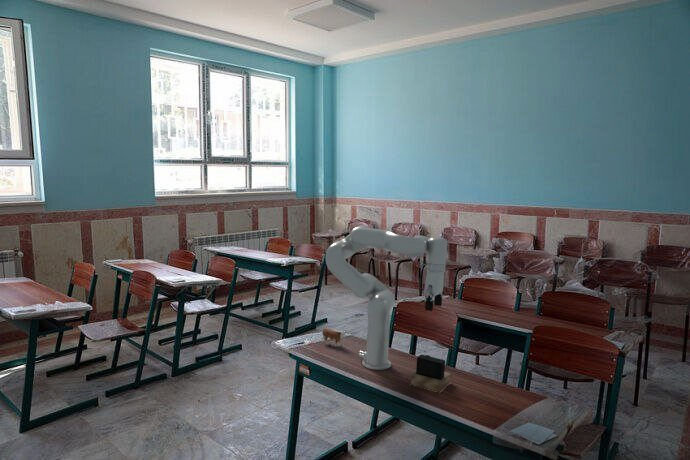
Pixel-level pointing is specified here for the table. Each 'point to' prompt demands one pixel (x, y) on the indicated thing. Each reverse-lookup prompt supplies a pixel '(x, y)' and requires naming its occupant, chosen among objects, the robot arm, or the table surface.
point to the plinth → (430, 381)
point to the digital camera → (430, 367)
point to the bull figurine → (333, 336)
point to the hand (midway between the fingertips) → (433, 307)
